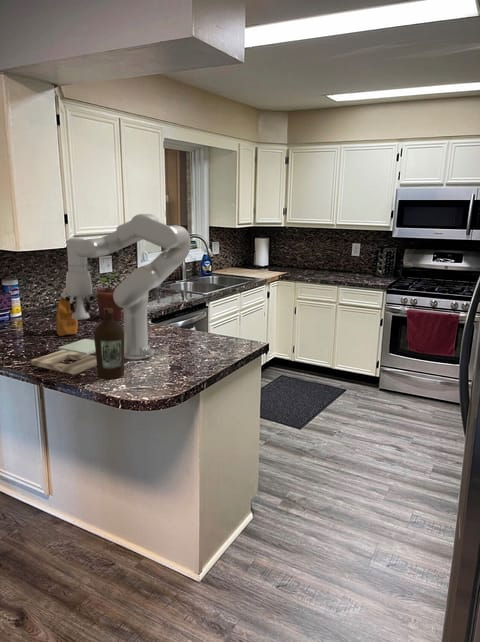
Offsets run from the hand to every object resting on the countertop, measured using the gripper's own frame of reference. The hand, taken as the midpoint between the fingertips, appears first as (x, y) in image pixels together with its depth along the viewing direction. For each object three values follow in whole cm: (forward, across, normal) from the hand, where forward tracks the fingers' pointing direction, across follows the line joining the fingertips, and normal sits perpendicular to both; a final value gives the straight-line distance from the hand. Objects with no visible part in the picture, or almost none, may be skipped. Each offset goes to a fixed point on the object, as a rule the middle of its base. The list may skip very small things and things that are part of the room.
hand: (80, 311), depth 194 cm
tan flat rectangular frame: (+17, +6, +17) cm, 25 cm away
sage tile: (+17, -2, -4) cm, 18 cm away
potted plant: (+18, -19, -55) cm, 61 cm away
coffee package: (+18, +5, -32) cm, 37 cm away
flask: (+3, 0, 0) cm, 3 cm away
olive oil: (+18, -8, +35) cm, 40 cm away
